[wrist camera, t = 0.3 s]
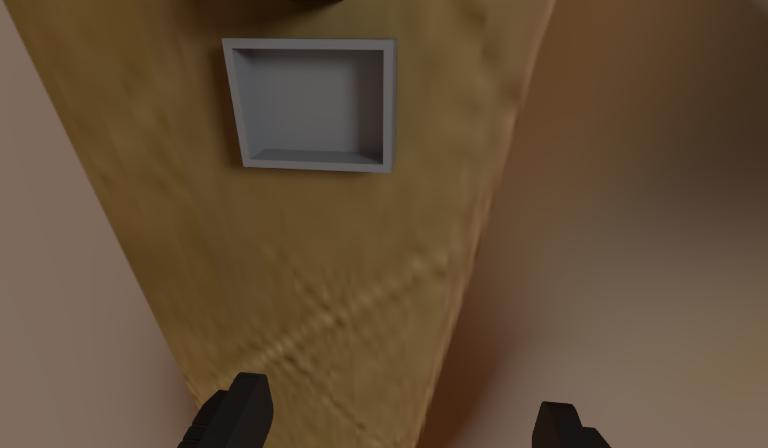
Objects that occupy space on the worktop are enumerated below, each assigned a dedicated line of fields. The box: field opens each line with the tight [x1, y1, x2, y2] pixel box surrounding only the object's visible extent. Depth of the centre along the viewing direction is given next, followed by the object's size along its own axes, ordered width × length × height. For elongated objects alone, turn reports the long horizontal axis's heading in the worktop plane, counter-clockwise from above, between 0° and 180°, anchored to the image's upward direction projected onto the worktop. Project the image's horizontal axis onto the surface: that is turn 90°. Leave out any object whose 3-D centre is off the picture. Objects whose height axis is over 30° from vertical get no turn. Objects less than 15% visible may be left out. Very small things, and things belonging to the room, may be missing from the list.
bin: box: [221, 38, 397, 173], centre depth 33 cm, size 10×13×4 cm
